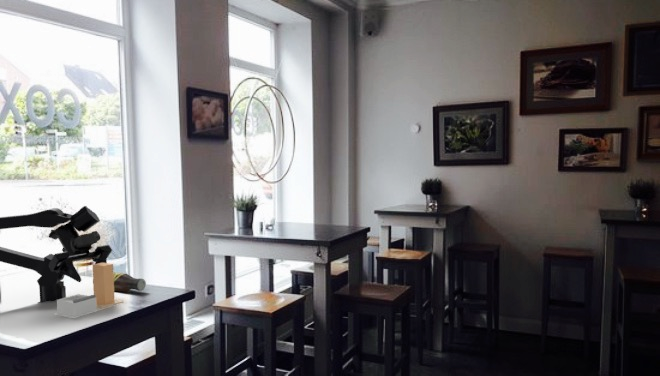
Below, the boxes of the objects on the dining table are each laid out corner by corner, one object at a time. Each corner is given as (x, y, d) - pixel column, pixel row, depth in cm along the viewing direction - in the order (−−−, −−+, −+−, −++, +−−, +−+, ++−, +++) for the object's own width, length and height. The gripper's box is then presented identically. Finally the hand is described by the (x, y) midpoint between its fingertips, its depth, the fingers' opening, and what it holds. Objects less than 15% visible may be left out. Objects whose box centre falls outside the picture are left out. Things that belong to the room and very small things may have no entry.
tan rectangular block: (94, 302, 153) (92, 264, 152) (103, 300, 156) (102, 262, 155) (105, 304, 150) (103, 266, 150) (114, 302, 153) (113, 263, 153)
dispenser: (53, 317, 143) (52, 297, 143) (106, 301, 159) (106, 283, 159) (73, 321, 139) (72, 301, 139) (126, 304, 155) (125, 286, 154)
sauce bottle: (105, 270, 179) (150, 274, 172) (104, 287, 178) (149, 292, 172) (91, 271, 173) (136, 276, 166) (90, 289, 172) (135, 294, 166)
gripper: (52, 227, 148) (76, 267, 143) (107, 220, 164) (130, 256, 159) (38, 251, 152) (61, 291, 147) (93, 242, 168) (115, 277, 163)
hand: (94, 278), depth 154 cm, fingers open, 9 cm apart
